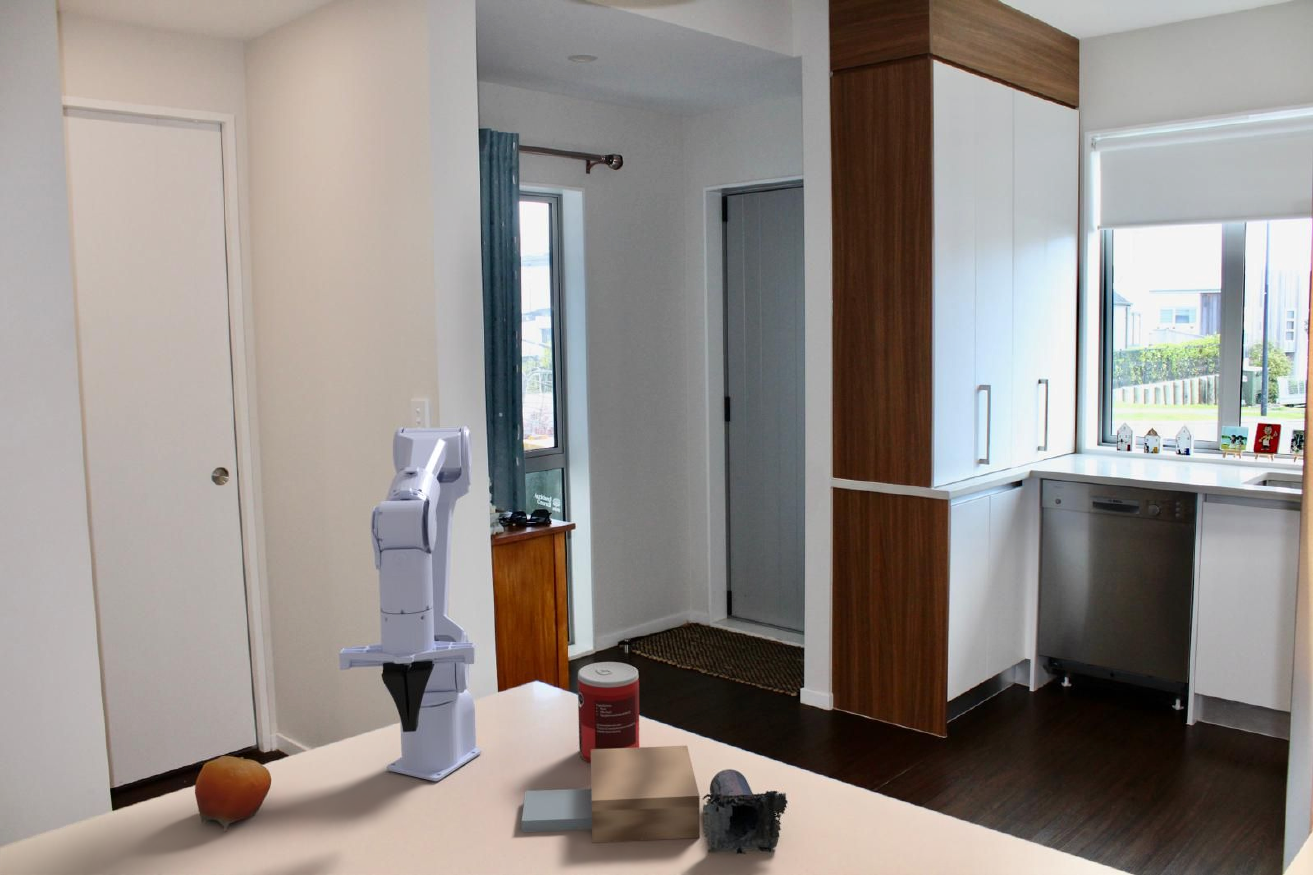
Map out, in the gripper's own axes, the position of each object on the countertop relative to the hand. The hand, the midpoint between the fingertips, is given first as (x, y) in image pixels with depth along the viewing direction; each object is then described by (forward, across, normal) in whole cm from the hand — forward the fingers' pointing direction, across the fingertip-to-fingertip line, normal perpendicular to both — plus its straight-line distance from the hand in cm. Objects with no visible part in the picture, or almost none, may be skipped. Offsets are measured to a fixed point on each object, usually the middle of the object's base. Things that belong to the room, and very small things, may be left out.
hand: (410, 728), depth 112 cm
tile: (+11, +19, -1) cm, 22 cm away
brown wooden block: (+10, +25, -1) cm, 27 cm away
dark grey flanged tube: (+11, +35, -6) cm, 38 cm away
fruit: (+10, -20, +4) cm, 23 cm away
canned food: (+10, +23, +15) cm, 29 cm away
